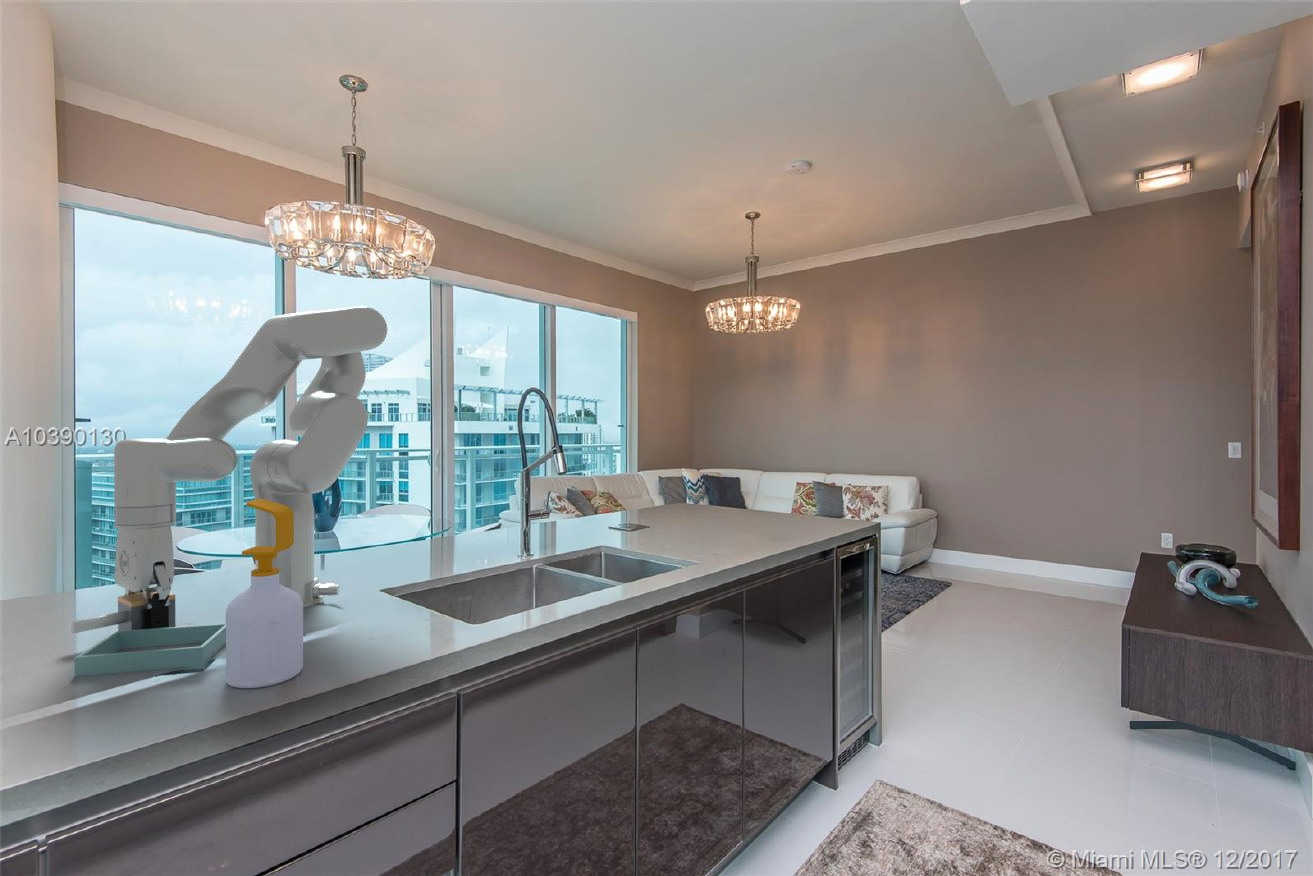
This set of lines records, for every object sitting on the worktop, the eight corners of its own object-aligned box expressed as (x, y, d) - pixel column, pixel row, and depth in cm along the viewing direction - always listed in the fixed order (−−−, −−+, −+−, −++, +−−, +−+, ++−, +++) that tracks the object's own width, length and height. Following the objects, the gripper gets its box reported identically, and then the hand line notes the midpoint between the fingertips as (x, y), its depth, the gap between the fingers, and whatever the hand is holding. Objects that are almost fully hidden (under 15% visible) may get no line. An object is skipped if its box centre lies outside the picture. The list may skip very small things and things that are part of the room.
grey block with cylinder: (161, 625, 101) (161, 588, 101) (175, 632, 98) (175, 594, 98) (67, 647, 92) (66, 606, 91) (79, 655, 89) (78, 612, 88)
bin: (230, 645, 96) (230, 623, 96) (203, 671, 86) (202, 647, 86) (117, 654, 92) (117, 631, 92) (74, 683, 82) (74, 657, 82)
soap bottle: (249, 663, 89) (249, 496, 88) (314, 662, 90) (314, 496, 89) (210, 690, 80) (209, 504, 79) (282, 689, 81) (282, 505, 80)
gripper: (96, 513, 98) (97, 623, 99) (137, 525, 89) (138, 646, 90) (153, 508, 105) (154, 612, 105) (197, 518, 95) (198, 632, 96)
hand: (146, 626), depth 97 cm, fingers open, 6 cm apart
